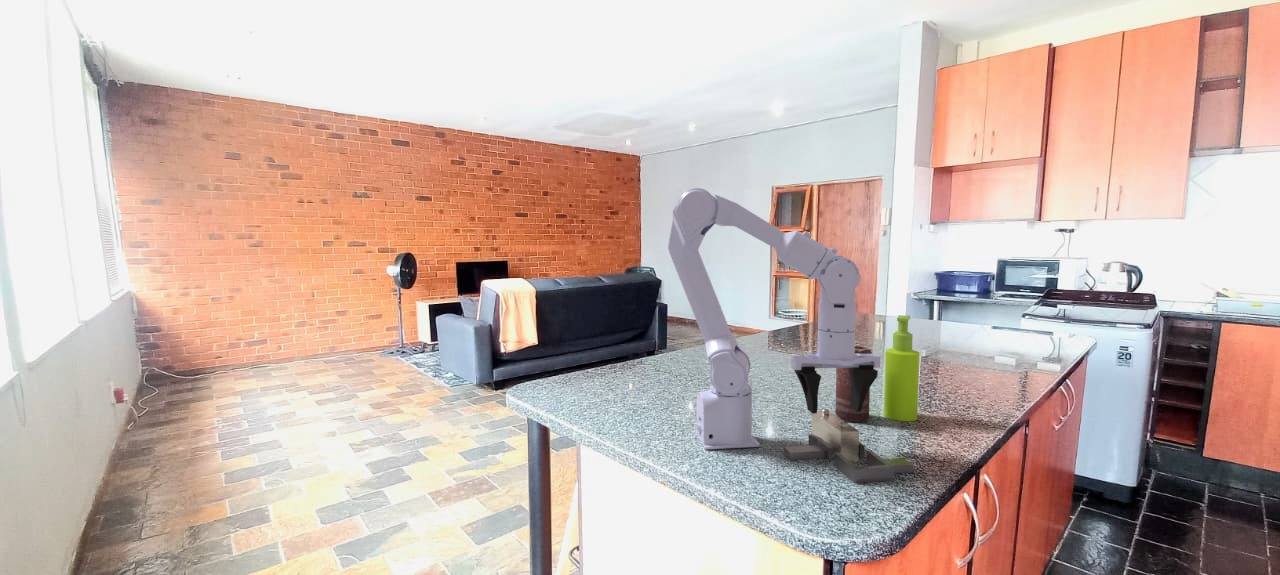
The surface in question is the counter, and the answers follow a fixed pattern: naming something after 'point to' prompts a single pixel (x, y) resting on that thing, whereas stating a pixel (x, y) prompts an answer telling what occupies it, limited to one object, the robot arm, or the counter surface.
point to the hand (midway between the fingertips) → (834, 410)
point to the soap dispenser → (901, 375)
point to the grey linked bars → (872, 473)
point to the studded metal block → (836, 434)
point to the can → (844, 394)
